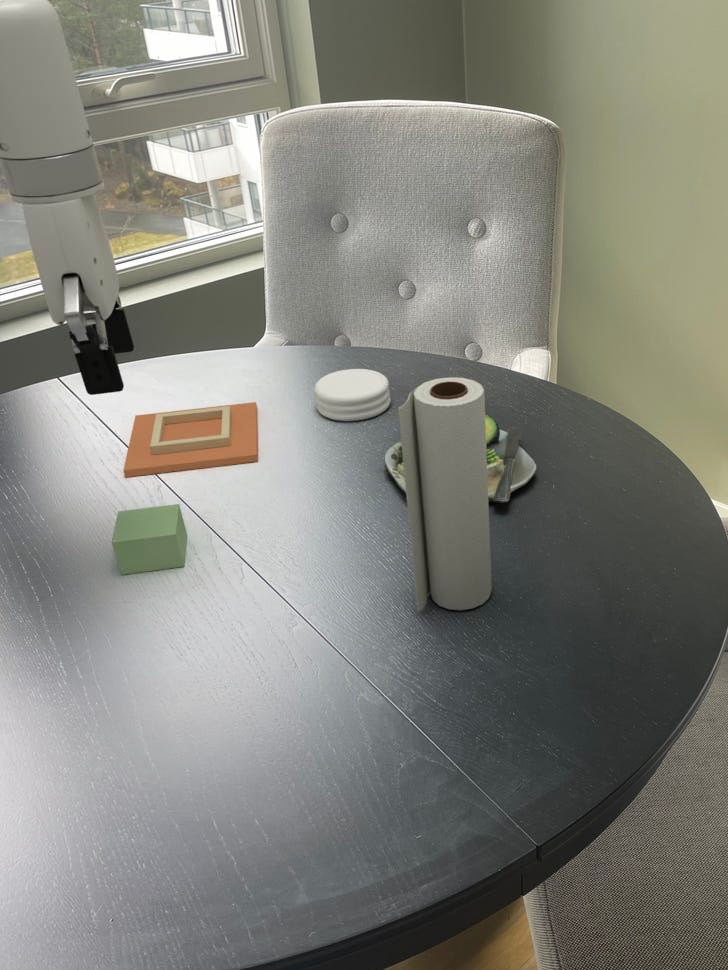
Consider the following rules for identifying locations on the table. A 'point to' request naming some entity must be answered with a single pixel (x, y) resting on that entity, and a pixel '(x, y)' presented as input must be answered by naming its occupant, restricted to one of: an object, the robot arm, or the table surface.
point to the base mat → (192, 439)
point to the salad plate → (503, 462)
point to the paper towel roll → (447, 492)
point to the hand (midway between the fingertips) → (112, 371)
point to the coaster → (352, 394)
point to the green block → (150, 539)
